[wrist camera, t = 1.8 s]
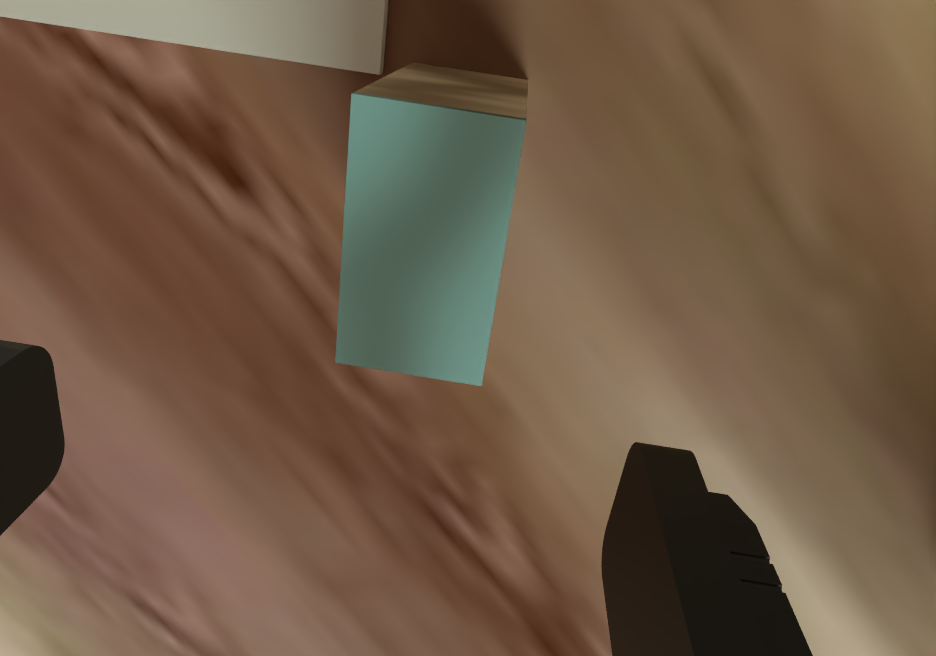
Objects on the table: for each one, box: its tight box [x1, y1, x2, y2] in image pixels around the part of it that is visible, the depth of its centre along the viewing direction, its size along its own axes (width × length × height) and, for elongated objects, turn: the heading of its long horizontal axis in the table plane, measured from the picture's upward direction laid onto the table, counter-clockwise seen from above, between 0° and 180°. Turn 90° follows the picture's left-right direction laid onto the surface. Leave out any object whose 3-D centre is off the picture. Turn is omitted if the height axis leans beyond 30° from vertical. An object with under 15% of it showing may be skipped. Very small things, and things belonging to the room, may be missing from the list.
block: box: [335, 62, 528, 386], centre depth 21 cm, size 4×7×9 cm, turn 172°
